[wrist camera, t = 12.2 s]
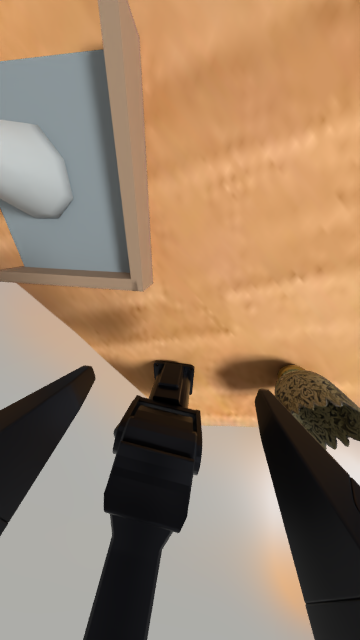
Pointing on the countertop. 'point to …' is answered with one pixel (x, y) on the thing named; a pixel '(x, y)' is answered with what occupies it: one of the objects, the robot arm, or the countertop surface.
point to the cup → (318, 406)
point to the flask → (32, 171)
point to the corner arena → (86, 161)
